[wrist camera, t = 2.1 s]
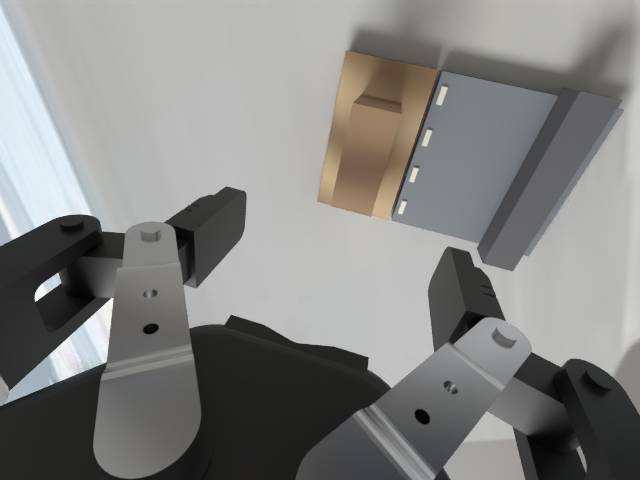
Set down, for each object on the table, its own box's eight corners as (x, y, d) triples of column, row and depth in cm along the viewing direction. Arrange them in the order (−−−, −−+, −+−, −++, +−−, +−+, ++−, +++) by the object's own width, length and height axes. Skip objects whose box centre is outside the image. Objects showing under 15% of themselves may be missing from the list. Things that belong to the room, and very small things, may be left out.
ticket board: (443, 62, 23) (450, 63, 20) (618, 99, 22) (654, 106, 19) (390, 219, 30) (388, 238, 27) (521, 253, 28) (535, 277, 25)
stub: (348, 50, 23) (332, 49, 18) (436, 69, 23) (448, 73, 17) (320, 196, 30) (301, 228, 24) (388, 214, 29) (385, 251, 24)
